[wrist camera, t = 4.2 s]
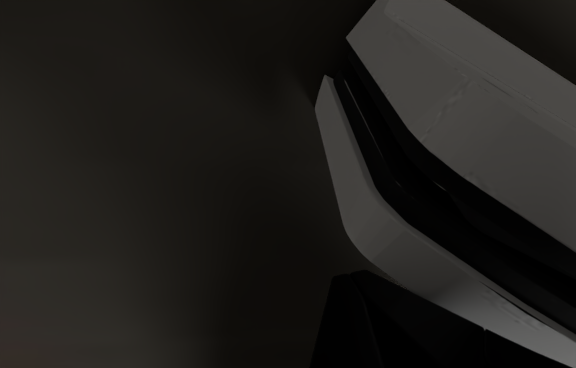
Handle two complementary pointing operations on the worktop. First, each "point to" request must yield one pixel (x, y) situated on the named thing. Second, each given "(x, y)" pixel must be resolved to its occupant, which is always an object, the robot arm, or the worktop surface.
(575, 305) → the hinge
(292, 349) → the worktop surface
